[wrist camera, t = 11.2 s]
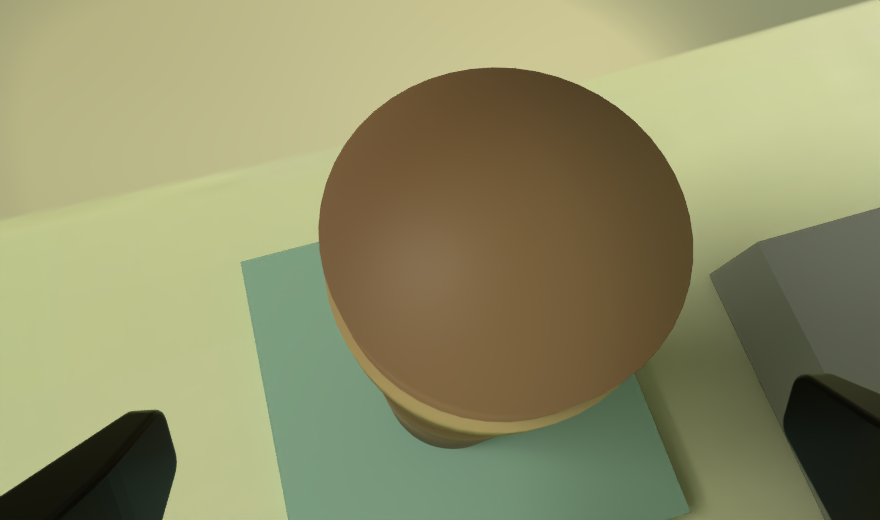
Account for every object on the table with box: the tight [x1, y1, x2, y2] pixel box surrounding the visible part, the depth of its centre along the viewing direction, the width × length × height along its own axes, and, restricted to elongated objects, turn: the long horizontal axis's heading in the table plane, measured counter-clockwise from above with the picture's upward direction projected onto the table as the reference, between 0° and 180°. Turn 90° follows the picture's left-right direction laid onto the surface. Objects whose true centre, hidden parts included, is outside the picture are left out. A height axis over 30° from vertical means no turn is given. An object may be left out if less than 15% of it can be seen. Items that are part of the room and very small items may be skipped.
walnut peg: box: [319, 68, 693, 449], centre depth 12 cm, size 4×4×12 cm
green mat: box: [241, 242, 690, 520], centre depth 18 cm, size 11×11×1 cm
